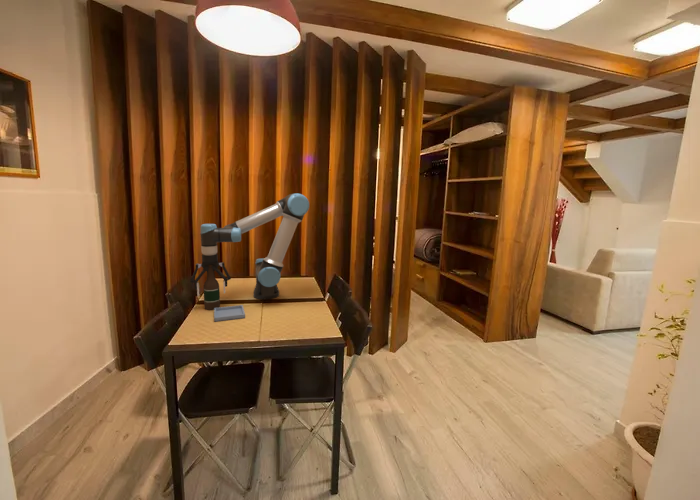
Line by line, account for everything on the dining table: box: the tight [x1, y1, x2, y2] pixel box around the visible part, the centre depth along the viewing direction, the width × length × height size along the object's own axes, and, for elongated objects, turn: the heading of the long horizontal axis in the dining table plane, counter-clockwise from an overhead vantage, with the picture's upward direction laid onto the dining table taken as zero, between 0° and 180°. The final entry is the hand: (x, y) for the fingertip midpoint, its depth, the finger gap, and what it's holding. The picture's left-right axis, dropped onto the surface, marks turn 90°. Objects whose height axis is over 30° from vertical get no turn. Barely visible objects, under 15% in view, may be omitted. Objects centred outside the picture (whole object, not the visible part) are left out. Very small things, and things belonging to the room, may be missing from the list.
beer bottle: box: [203, 265, 221, 311], centre depth 165 cm, size 8×8×24 cm
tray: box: [213, 304, 246, 323], centre depth 158 cm, size 14×14×2 cm
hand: (211, 293), depth 165 cm, fingers open, 12 cm apart
